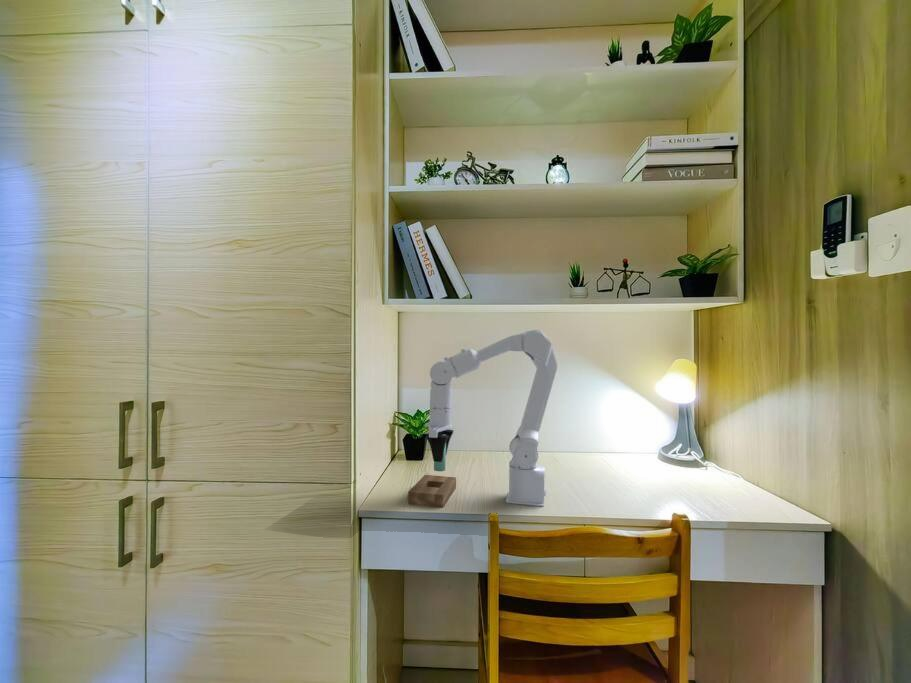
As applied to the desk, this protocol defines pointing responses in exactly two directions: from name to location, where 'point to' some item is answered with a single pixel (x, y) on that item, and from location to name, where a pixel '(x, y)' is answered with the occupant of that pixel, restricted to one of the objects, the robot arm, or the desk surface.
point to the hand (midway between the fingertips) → (439, 459)
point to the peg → (441, 465)
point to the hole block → (432, 490)
